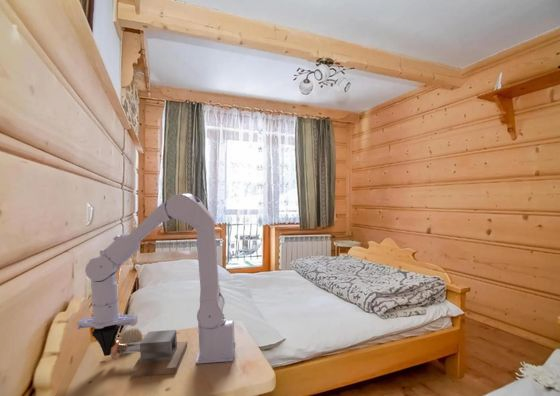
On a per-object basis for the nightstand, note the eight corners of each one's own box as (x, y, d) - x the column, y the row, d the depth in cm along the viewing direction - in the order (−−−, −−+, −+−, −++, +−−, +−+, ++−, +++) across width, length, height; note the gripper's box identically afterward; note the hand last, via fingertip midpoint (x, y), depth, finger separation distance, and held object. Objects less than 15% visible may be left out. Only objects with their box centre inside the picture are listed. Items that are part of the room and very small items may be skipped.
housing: (187, 346, 85) (186, 324, 84) (176, 373, 73) (174, 347, 72) (149, 349, 84) (147, 326, 84) (131, 376, 72) (129, 350, 72)
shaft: (161, 349, 80) (160, 334, 80) (156, 357, 76) (155, 342, 76) (118, 352, 79) (117, 337, 79) (111, 360, 75) (110, 345, 75)
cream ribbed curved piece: (146, 344, 87) (145, 326, 86) (113, 355, 81) (112, 336, 81) (142, 339, 90) (141, 321, 90) (110, 349, 85) (109, 330, 84)
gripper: (65, 310, 72) (69, 365, 73) (128, 306, 73) (131, 360, 74) (82, 298, 79) (85, 349, 80) (139, 295, 80) (142, 345, 81)
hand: (108, 353), depth 77 cm, fingers closed
